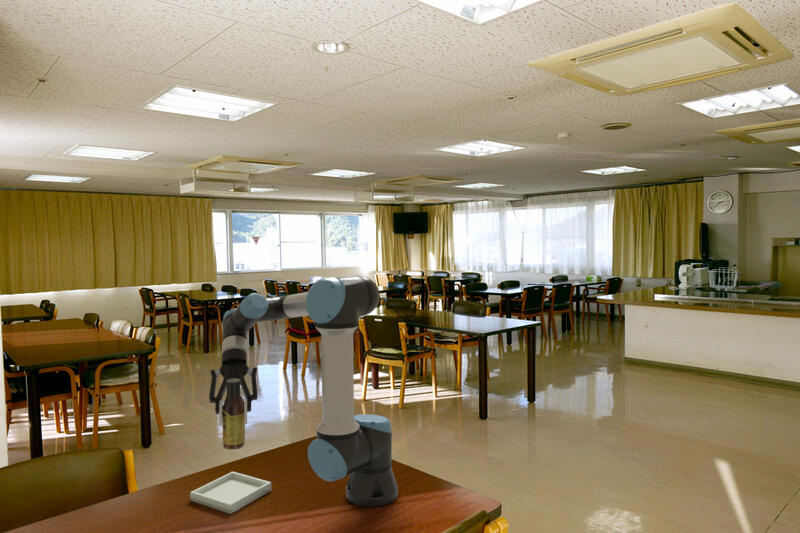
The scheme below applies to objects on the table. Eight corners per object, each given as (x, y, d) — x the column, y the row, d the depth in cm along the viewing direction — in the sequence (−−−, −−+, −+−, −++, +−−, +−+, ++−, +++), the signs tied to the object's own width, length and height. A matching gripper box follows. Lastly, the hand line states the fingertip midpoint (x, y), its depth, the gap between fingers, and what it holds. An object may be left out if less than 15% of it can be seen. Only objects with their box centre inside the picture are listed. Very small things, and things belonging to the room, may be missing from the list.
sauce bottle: (225, 442, 157) (225, 376, 157) (246, 442, 158) (246, 376, 157) (220, 451, 151) (219, 382, 150) (242, 450, 152) (242, 382, 151)
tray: (271, 490, 159) (271, 482, 159) (230, 514, 145) (230, 505, 145) (232, 479, 166) (232, 471, 166) (190, 500, 152) (190, 492, 152)
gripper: (265, 358, 171) (267, 425, 156) (202, 362, 166) (198, 431, 151) (266, 345, 166) (268, 413, 151) (201, 348, 160) (196, 419, 145)
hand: (233, 422), depth 151 cm, fingers closed on sauce bottle, 6 cm apart
